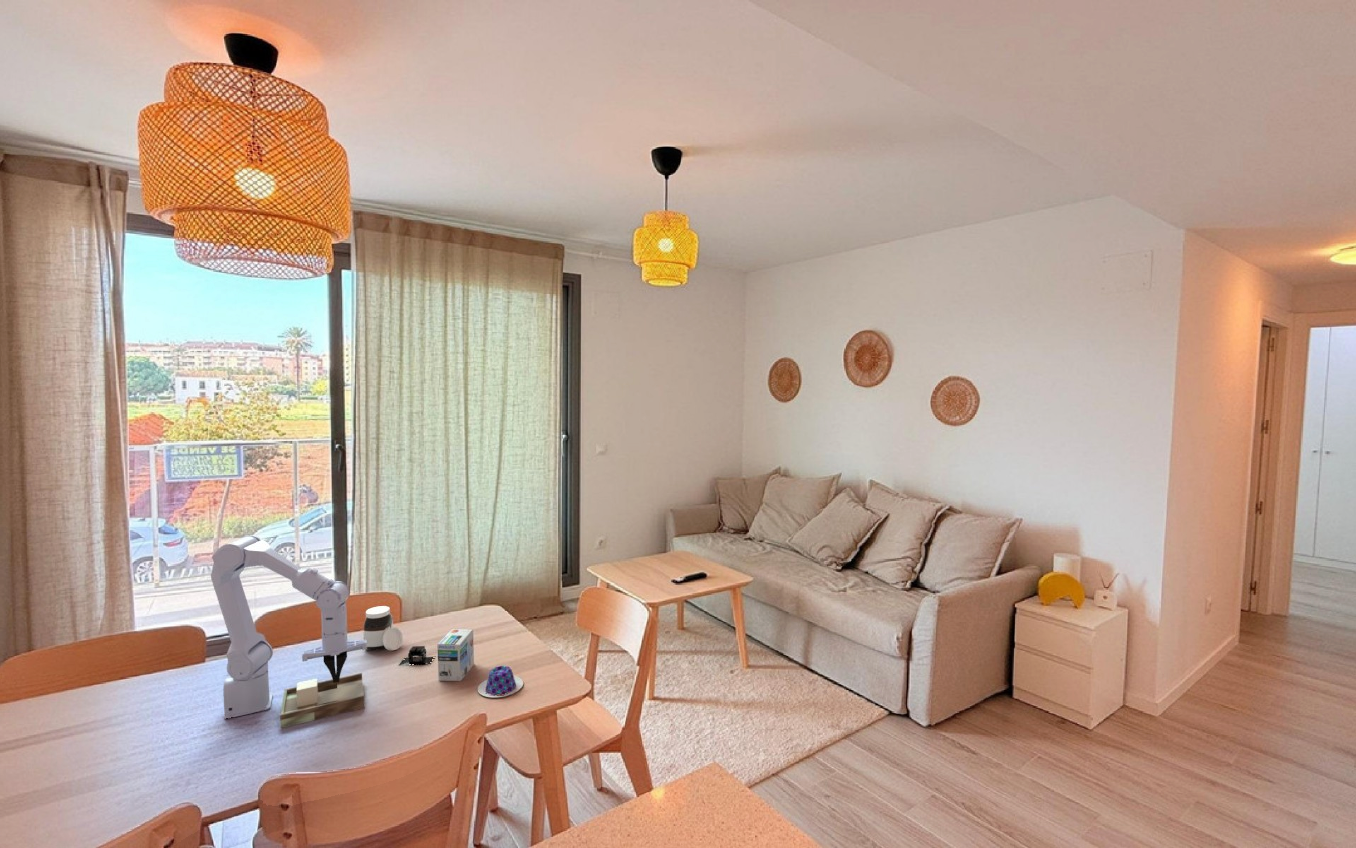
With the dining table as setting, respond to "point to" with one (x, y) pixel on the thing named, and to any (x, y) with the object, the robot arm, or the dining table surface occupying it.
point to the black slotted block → (419, 660)
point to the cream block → (307, 692)
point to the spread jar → (381, 630)
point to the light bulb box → (455, 655)
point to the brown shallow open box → (324, 701)
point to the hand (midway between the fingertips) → (336, 680)
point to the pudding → (500, 682)
